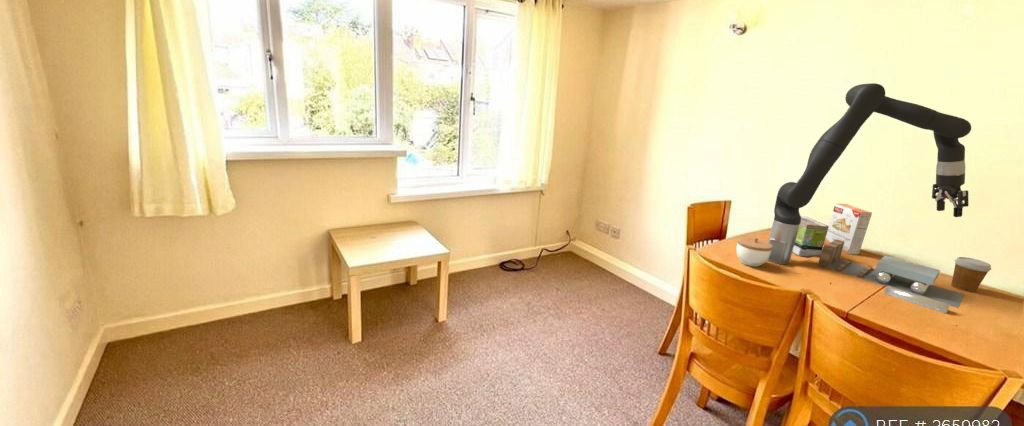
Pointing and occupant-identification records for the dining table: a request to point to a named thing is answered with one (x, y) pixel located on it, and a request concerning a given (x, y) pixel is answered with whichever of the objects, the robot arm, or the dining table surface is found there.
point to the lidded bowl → (753, 251)
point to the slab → (908, 270)
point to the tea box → (810, 237)
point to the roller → (917, 299)
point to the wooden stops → (837, 257)
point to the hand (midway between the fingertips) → (948, 213)
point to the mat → (902, 283)
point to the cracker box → (848, 227)
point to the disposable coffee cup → (969, 273)
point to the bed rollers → (915, 287)
